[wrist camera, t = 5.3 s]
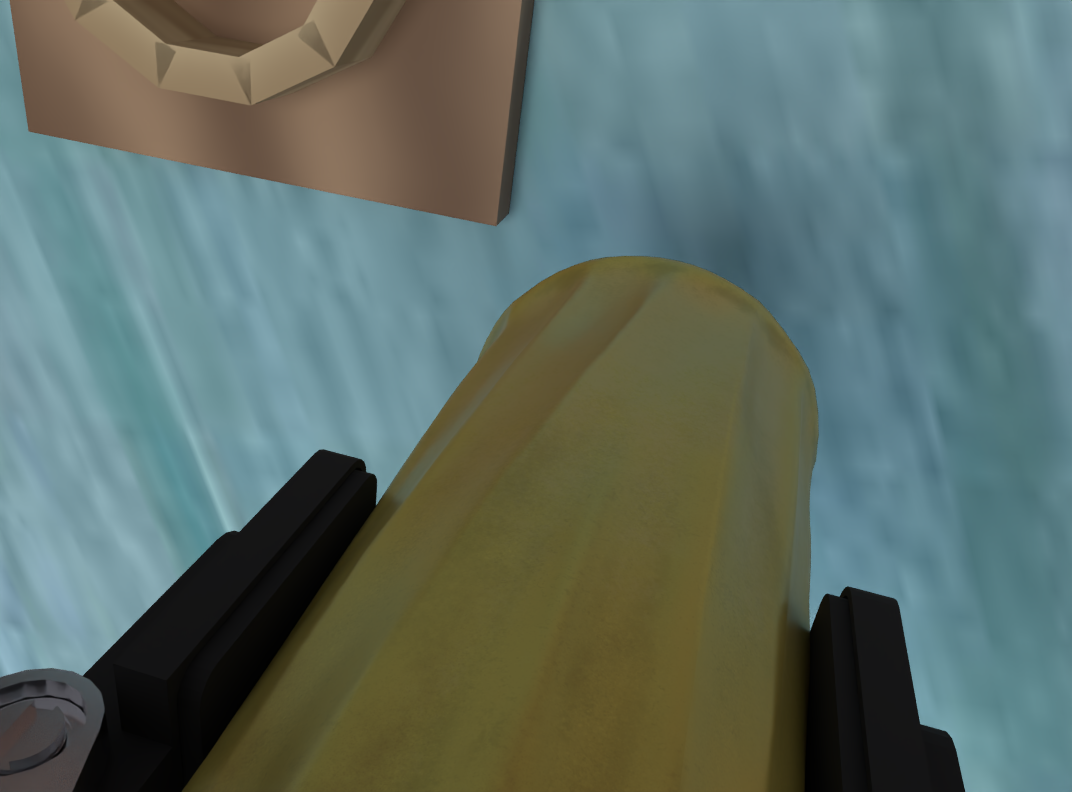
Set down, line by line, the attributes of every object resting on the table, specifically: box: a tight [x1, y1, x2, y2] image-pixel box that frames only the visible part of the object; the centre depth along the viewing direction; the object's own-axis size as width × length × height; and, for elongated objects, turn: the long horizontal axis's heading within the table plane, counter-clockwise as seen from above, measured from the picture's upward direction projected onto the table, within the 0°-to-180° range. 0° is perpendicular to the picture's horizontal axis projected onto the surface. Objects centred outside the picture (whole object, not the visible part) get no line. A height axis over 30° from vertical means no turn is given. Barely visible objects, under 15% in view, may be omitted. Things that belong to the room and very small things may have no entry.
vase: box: [182, 256, 819, 792], centre depth 9 cm, size 6×6×14 cm
